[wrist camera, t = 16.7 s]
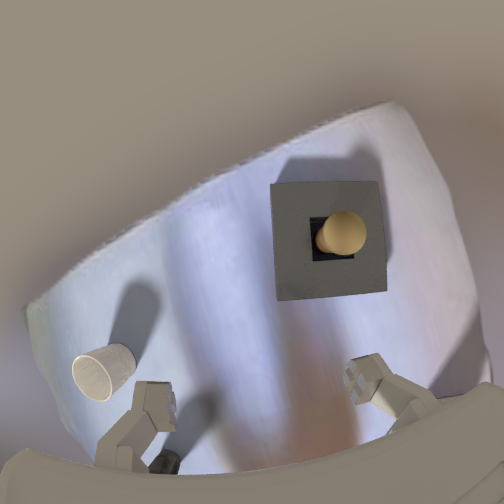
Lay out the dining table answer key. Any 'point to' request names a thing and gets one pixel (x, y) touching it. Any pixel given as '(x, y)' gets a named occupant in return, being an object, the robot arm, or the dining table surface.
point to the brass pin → (340, 234)
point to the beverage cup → (165, 463)
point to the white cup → (103, 371)
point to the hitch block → (300, 248)
